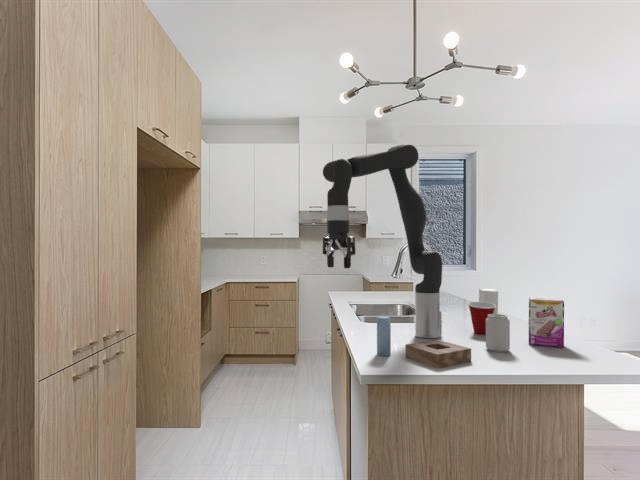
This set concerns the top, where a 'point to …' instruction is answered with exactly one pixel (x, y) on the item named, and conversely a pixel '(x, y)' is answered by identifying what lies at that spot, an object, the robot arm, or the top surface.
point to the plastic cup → (480, 315)
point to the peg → (383, 336)
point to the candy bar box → (546, 322)
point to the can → (497, 333)
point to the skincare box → (489, 297)
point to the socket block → (438, 353)
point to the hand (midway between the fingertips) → (338, 267)
